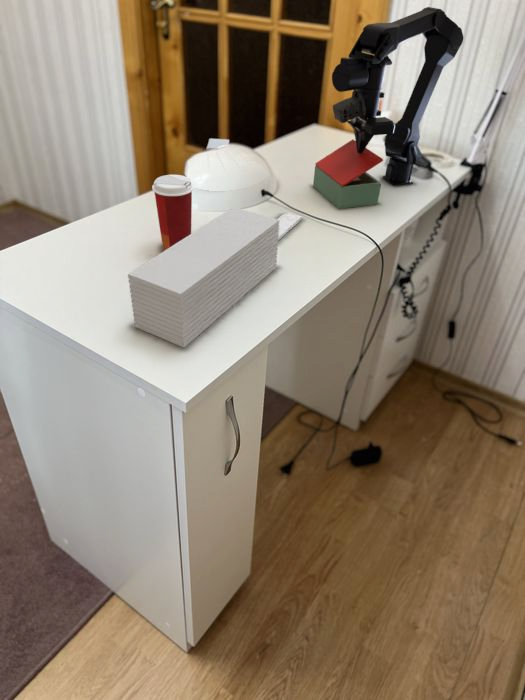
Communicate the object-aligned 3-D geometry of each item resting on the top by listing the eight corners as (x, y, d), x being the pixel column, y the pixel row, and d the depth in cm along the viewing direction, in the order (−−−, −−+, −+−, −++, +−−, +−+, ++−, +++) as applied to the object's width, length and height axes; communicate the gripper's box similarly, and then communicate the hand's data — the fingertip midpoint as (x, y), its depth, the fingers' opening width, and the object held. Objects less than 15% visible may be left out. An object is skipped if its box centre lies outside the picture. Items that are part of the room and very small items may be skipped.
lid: (353, 141, 142) (352, 139, 142) (383, 160, 131) (382, 158, 131) (315, 165, 143) (314, 163, 142) (342, 187, 132) (341, 185, 131)
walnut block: (352, 188, 144) (354, 174, 142) (359, 194, 141) (361, 179, 139) (335, 190, 143) (337, 176, 140) (342, 196, 140) (344, 181, 137)
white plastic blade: (254, 239, 120) (254, 234, 120) (283, 215, 131) (283, 211, 130) (273, 244, 118) (274, 239, 118) (301, 220, 129) (302, 215, 128)
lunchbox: (349, 182, 150) (352, 162, 146) (377, 204, 139) (381, 182, 135) (312, 186, 146) (315, 165, 143) (338, 209, 135) (341, 187, 132)
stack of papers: (233, 253, 115) (233, 206, 108) (276, 267, 111) (279, 220, 104) (134, 326, 93) (127, 273, 86) (184, 347, 89) (180, 293, 82)
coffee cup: (202, 243, 118) (199, 177, 108) (185, 260, 112) (182, 191, 102) (168, 236, 120) (163, 170, 110) (150, 252, 114) (143, 184, 104)
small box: (227, 188, 142) (227, 148, 136) (206, 187, 142) (206, 147, 136) (229, 177, 148) (230, 138, 142) (209, 176, 148) (209, 137, 142)
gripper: (322, 79, 131) (315, 143, 141) (359, 98, 117) (349, 168, 127) (361, 77, 134) (352, 140, 144) (402, 96, 121) (389, 164, 131)
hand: (359, 152), depth 136 cm, fingers closed, pressing on lid
